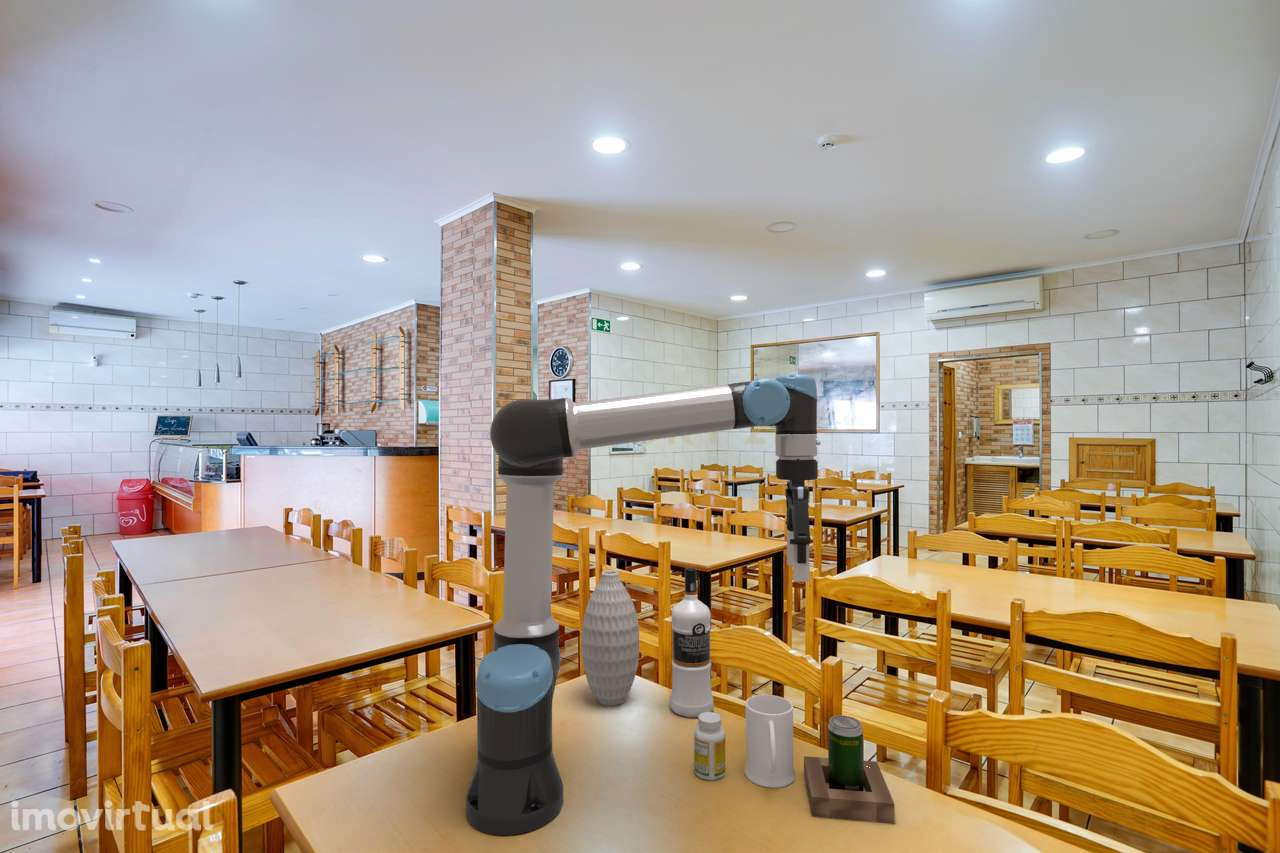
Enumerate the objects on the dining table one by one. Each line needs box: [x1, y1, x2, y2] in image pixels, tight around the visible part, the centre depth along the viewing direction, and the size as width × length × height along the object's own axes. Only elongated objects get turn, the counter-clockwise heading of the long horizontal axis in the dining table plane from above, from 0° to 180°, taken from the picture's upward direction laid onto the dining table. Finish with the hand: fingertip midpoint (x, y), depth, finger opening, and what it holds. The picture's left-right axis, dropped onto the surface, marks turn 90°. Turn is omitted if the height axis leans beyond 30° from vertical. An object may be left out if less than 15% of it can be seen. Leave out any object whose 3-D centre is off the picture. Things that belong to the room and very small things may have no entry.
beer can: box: [827, 715, 865, 792], centre depth 99 cm, size 5×5×12 cm
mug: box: [744, 694, 796, 789], centre depth 104 cm, size 12×8×12 cm
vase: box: [581, 569, 640, 707], centre depth 136 cm, size 13×13×28 cm
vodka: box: [669, 567, 715, 719], centre depth 131 cm, size 9×9×30 cm
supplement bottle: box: [693, 711, 726, 781], centre depth 106 cm, size 5×5×10 cm
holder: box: [803, 755, 896, 825], centre depth 99 cm, size 12×12×3 cm
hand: (797, 572), depth 114 cm, fingers open, 13 cm apart
